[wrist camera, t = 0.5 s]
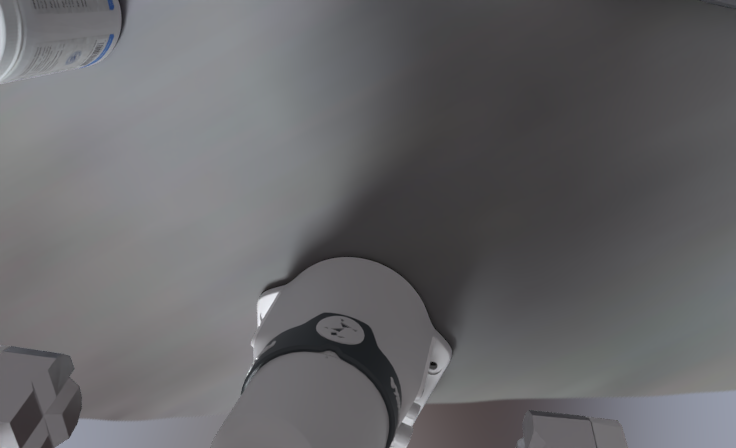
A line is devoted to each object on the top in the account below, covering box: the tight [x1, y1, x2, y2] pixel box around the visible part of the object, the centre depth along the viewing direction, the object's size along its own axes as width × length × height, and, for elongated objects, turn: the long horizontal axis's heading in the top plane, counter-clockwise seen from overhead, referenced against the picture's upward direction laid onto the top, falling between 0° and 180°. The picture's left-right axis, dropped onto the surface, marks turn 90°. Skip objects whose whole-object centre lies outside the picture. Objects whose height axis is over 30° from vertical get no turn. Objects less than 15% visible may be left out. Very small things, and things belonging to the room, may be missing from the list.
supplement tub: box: [0, 0, 122, 84], centre depth 49 cm, size 10×10×15 cm
